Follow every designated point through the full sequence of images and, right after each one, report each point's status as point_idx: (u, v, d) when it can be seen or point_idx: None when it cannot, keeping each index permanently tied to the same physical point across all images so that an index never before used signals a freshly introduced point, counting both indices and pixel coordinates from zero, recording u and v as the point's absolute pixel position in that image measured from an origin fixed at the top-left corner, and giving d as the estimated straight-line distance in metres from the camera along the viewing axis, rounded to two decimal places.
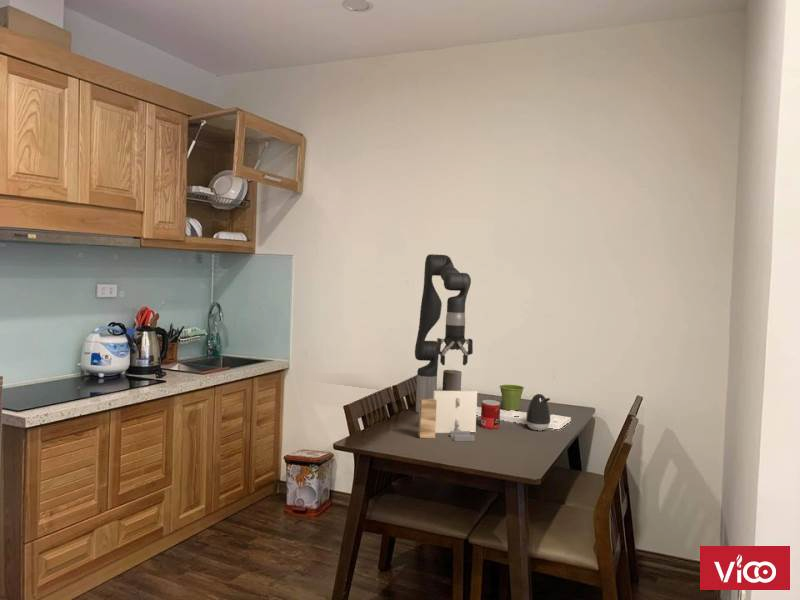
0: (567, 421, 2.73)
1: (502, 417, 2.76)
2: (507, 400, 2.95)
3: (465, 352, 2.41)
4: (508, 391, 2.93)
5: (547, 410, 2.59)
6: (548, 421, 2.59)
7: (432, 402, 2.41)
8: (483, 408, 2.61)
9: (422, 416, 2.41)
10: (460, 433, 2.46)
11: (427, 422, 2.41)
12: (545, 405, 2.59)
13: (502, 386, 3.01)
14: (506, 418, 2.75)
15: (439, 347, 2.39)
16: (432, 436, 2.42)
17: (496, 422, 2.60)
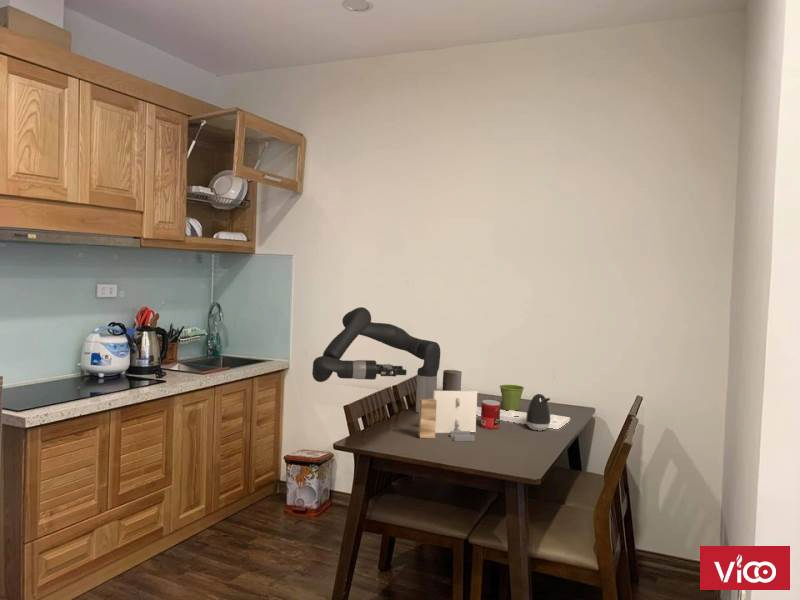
0: (566, 421, 2.73)
1: (501, 417, 2.76)
2: (507, 400, 2.95)
3: (393, 375, 2.40)
4: (508, 391, 2.93)
5: (547, 410, 2.59)
6: (548, 421, 2.59)
7: (432, 402, 2.41)
8: (483, 408, 2.61)
9: (422, 416, 2.41)
10: (460, 433, 2.46)
11: (427, 422, 2.41)
12: (545, 405, 2.59)
13: (502, 386, 3.01)
14: (505, 418, 2.75)
15: None
16: (432, 436, 2.42)
17: (496, 422, 2.60)
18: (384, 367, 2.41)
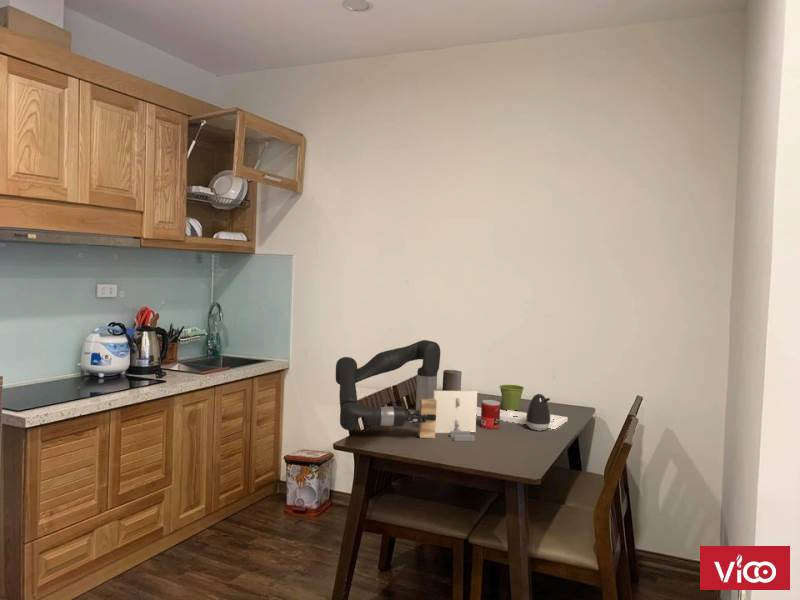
0: (564, 421, 2.74)
1: None
2: (507, 400, 2.95)
3: None
4: (508, 391, 2.93)
5: (547, 410, 2.59)
6: (548, 421, 2.59)
7: (432, 402, 2.41)
8: (483, 408, 2.61)
9: None
10: (460, 433, 2.46)
11: (427, 422, 2.41)
12: (545, 405, 2.59)
13: (502, 386, 3.01)
14: (503, 418, 2.75)
15: None
16: (432, 436, 2.42)
17: (496, 422, 2.60)
18: (413, 413, 2.40)
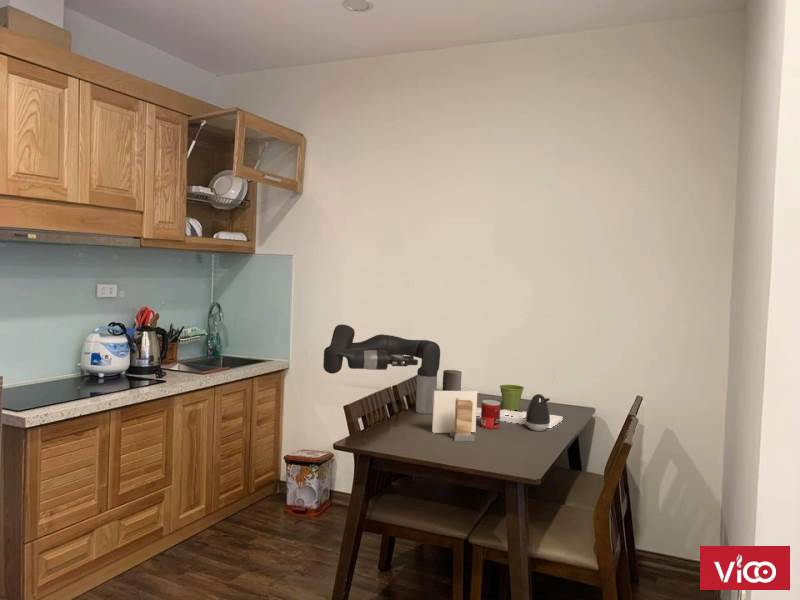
0: (559, 420, 2.74)
1: None
2: (507, 400, 2.95)
3: None
4: (508, 391, 2.93)
5: (547, 410, 2.59)
6: (548, 421, 2.59)
7: (468, 403, 2.41)
8: (483, 408, 2.61)
9: (458, 417, 2.41)
10: None
11: (463, 423, 2.42)
12: (545, 405, 2.59)
13: (502, 386, 3.01)
14: None
15: None
16: None
17: (496, 422, 2.60)
18: (395, 357, 2.40)
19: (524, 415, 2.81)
